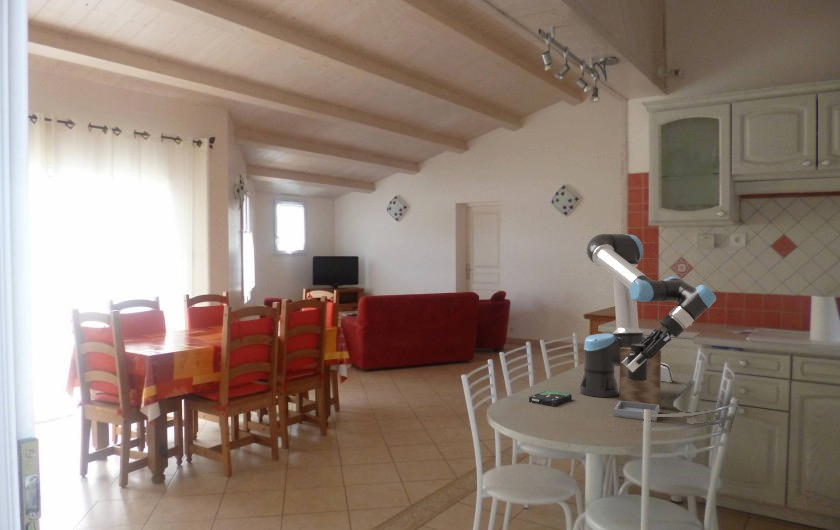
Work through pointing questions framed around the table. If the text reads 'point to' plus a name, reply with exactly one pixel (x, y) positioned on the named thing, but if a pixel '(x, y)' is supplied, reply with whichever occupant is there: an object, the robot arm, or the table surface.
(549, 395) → the disk drive
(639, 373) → the supplement bottle
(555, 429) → the table surface
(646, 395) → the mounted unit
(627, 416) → the tray
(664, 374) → the white black curved block
